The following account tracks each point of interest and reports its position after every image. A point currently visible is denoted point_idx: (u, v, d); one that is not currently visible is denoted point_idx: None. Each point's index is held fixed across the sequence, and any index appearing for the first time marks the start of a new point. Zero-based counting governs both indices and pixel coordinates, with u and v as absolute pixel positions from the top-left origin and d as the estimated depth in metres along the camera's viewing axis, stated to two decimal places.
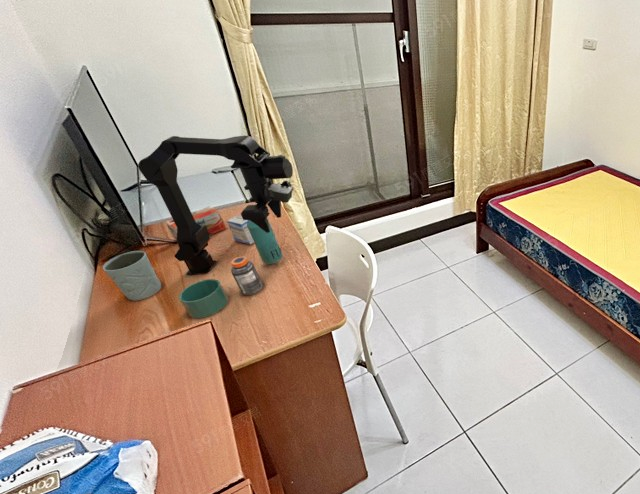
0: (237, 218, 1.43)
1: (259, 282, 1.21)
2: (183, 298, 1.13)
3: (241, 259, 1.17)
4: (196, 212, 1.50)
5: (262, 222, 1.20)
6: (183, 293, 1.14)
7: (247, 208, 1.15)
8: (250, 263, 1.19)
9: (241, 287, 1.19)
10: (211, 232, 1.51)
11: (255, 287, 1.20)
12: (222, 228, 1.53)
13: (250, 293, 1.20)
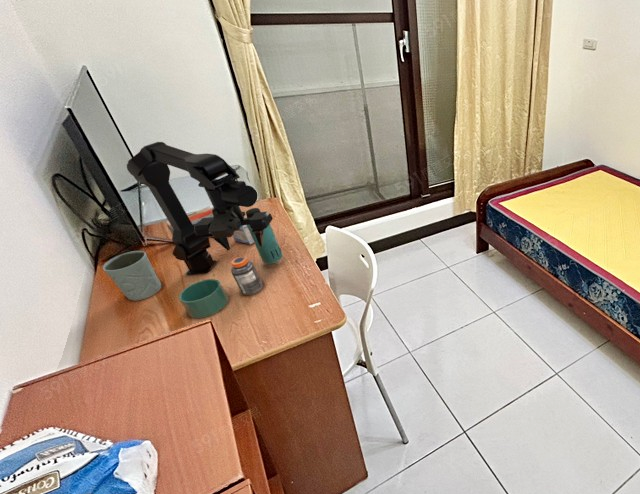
0: None
1: (259, 282, 1.21)
2: (183, 298, 1.13)
3: (241, 259, 1.17)
4: (196, 212, 1.50)
5: None
6: (183, 293, 1.14)
7: (205, 218, 1.13)
8: (250, 263, 1.19)
9: (241, 287, 1.19)
10: None
11: (255, 287, 1.20)
12: None
13: (250, 293, 1.20)
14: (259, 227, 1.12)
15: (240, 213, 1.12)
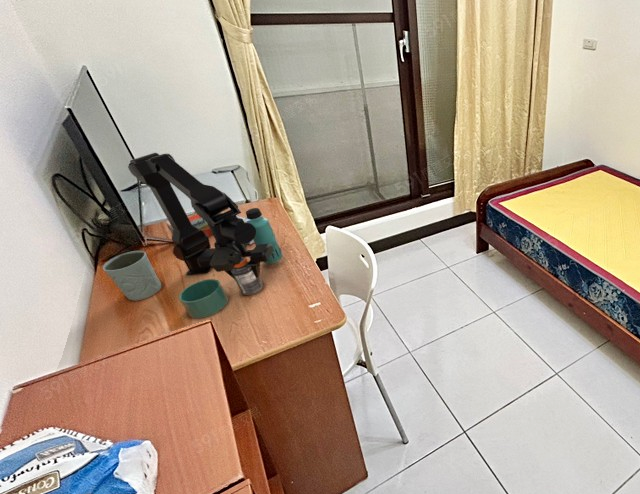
0: None
1: (259, 282, 1.21)
2: (183, 298, 1.13)
3: (241, 259, 1.17)
4: None
5: None
6: (183, 293, 1.14)
7: (209, 250, 1.16)
8: None
9: (241, 287, 1.19)
10: (211, 232, 1.51)
11: (255, 287, 1.20)
12: None
13: (250, 293, 1.20)
14: (259, 260, 1.14)
15: (242, 246, 1.14)
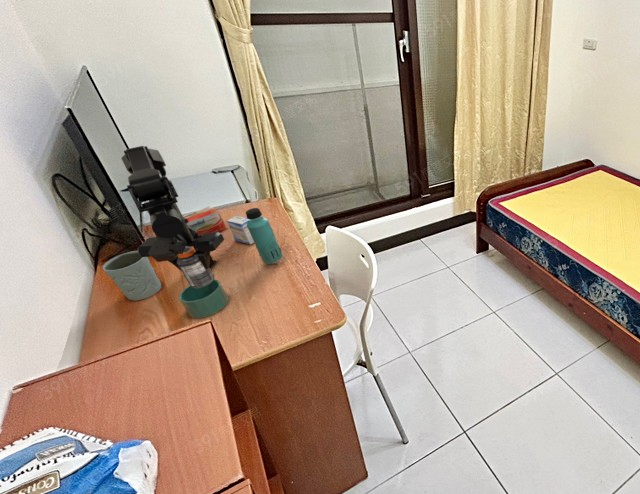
0: (237, 218, 1.43)
1: (209, 274, 1.12)
2: (183, 298, 1.13)
3: (188, 249, 1.08)
4: (196, 212, 1.50)
5: None
6: (183, 293, 1.14)
7: (152, 238, 1.06)
8: None
9: (188, 279, 1.09)
10: (211, 232, 1.51)
11: (204, 280, 1.11)
12: (222, 228, 1.53)
13: (199, 286, 1.11)
14: (206, 249, 1.05)
15: (187, 234, 1.05)
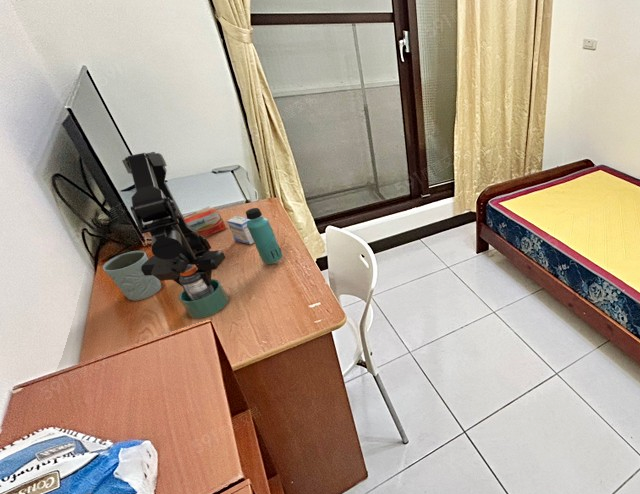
0: (237, 218, 1.43)
1: (211, 291, 1.14)
2: (183, 298, 1.13)
3: (190, 267, 1.10)
4: (196, 212, 1.50)
5: None
6: (183, 293, 1.14)
7: (155, 257, 1.08)
8: None
9: (190, 296, 1.11)
10: (211, 232, 1.51)
11: None
12: (222, 228, 1.53)
13: None
14: (208, 268, 1.07)
15: (189, 253, 1.07)
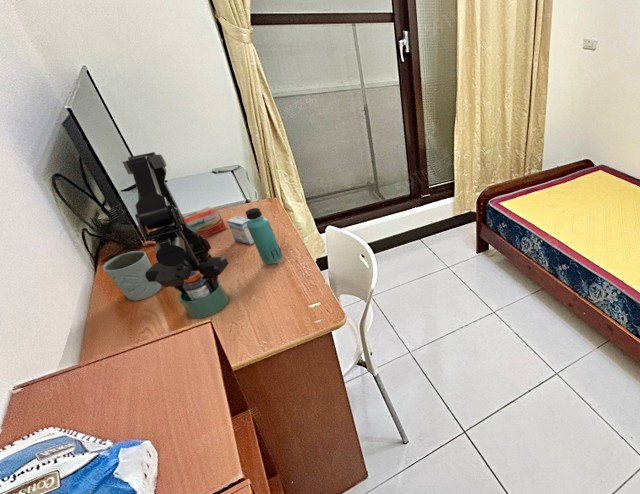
0: (237, 218, 1.43)
1: None
2: (183, 298, 1.13)
3: (193, 273, 1.11)
4: (196, 212, 1.50)
5: None
6: None
7: (159, 263, 1.10)
8: None
9: None
10: (211, 232, 1.51)
11: None
12: (222, 228, 1.53)
13: None
14: (211, 274, 1.08)
15: (193, 259, 1.08)
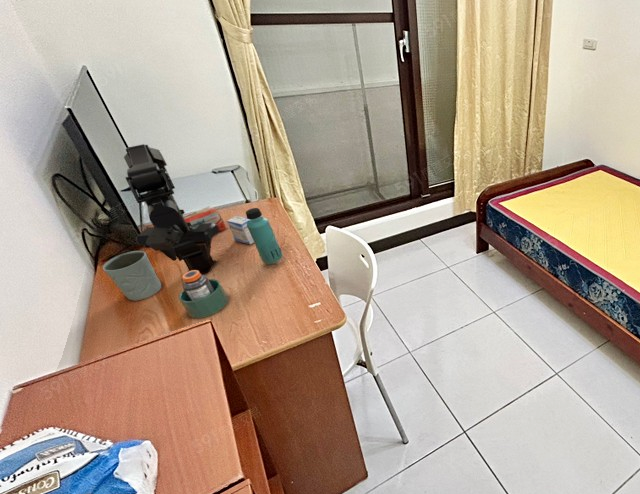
0: (237, 218, 1.43)
1: None
2: (183, 298, 1.13)
3: (193, 273, 1.11)
4: (196, 212, 1.50)
5: None
6: (183, 293, 1.14)
7: (150, 228, 1.11)
8: (204, 277, 1.13)
9: None
10: None
11: None
12: (222, 228, 1.53)
13: None
14: (202, 239, 1.09)
15: (183, 224, 1.09)
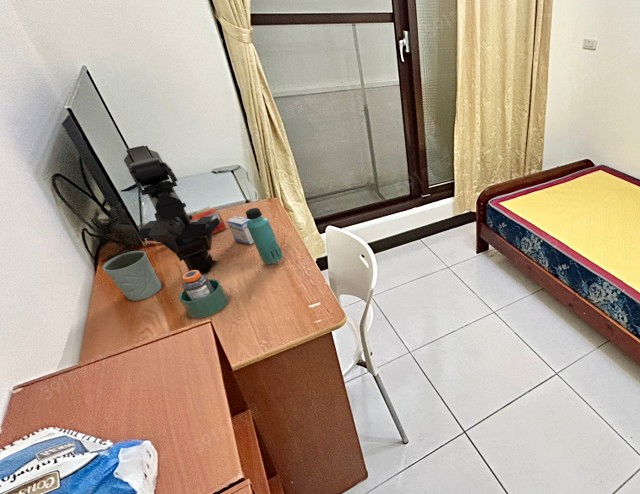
0: (237, 218, 1.43)
1: None
2: (183, 298, 1.13)
3: (193, 273, 1.11)
4: (196, 212, 1.50)
5: None
6: (183, 293, 1.14)
7: (152, 222, 1.14)
8: (204, 277, 1.13)
9: None
10: None
11: None
12: (222, 228, 1.53)
13: None
14: (203, 232, 1.12)
15: (185, 217, 1.12)
